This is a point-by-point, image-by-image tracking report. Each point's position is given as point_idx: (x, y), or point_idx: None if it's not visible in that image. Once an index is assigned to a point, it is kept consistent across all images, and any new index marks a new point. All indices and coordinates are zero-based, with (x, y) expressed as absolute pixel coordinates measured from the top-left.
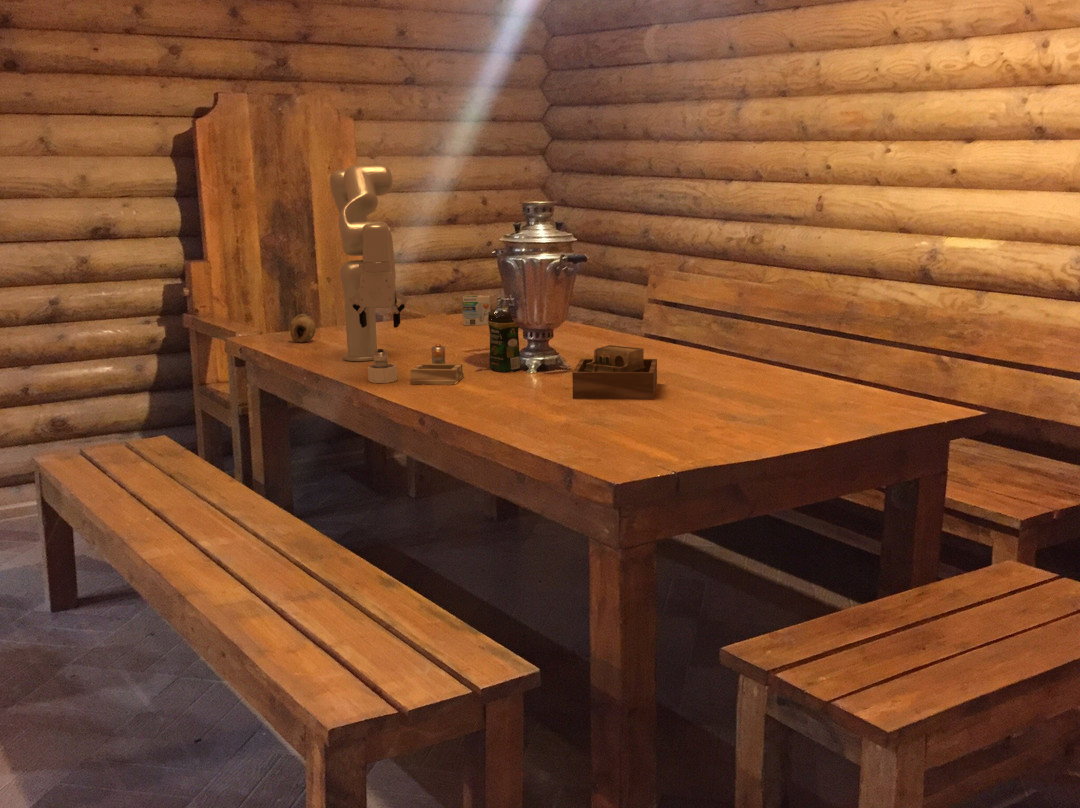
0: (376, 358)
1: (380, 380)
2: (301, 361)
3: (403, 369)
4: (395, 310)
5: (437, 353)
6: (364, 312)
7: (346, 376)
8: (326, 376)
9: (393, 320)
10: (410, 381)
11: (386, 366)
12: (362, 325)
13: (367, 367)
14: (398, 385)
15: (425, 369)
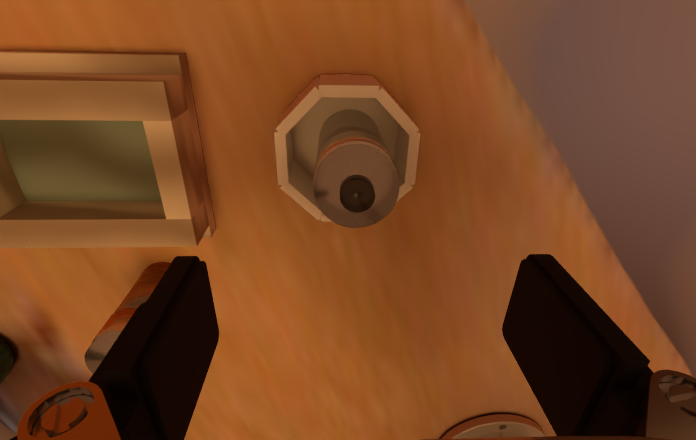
0: (371, 140)
1: (338, 76)
2: None
3: (325, 332)
4: (70, 433)
5: (119, 320)
6: (590, 435)
7: (513, 218)
8: (592, 216)
9: (176, 305)
10: (178, 55)
11: (319, 145)
12: (544, 261)
13: (418, 128)
14: (237, 32)
15: (88, 106)
